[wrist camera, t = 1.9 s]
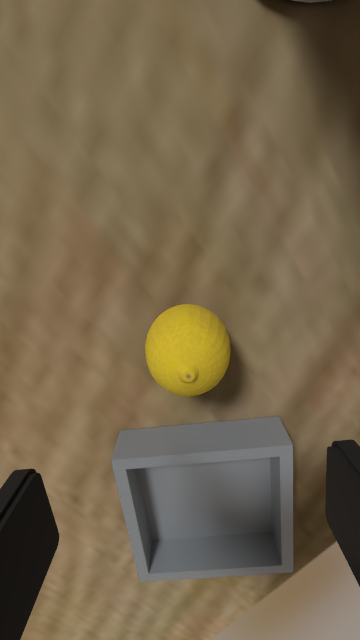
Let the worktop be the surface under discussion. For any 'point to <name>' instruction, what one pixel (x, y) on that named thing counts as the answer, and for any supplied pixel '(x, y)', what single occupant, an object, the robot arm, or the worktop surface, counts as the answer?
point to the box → (207, 498)
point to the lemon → (187, 350)
